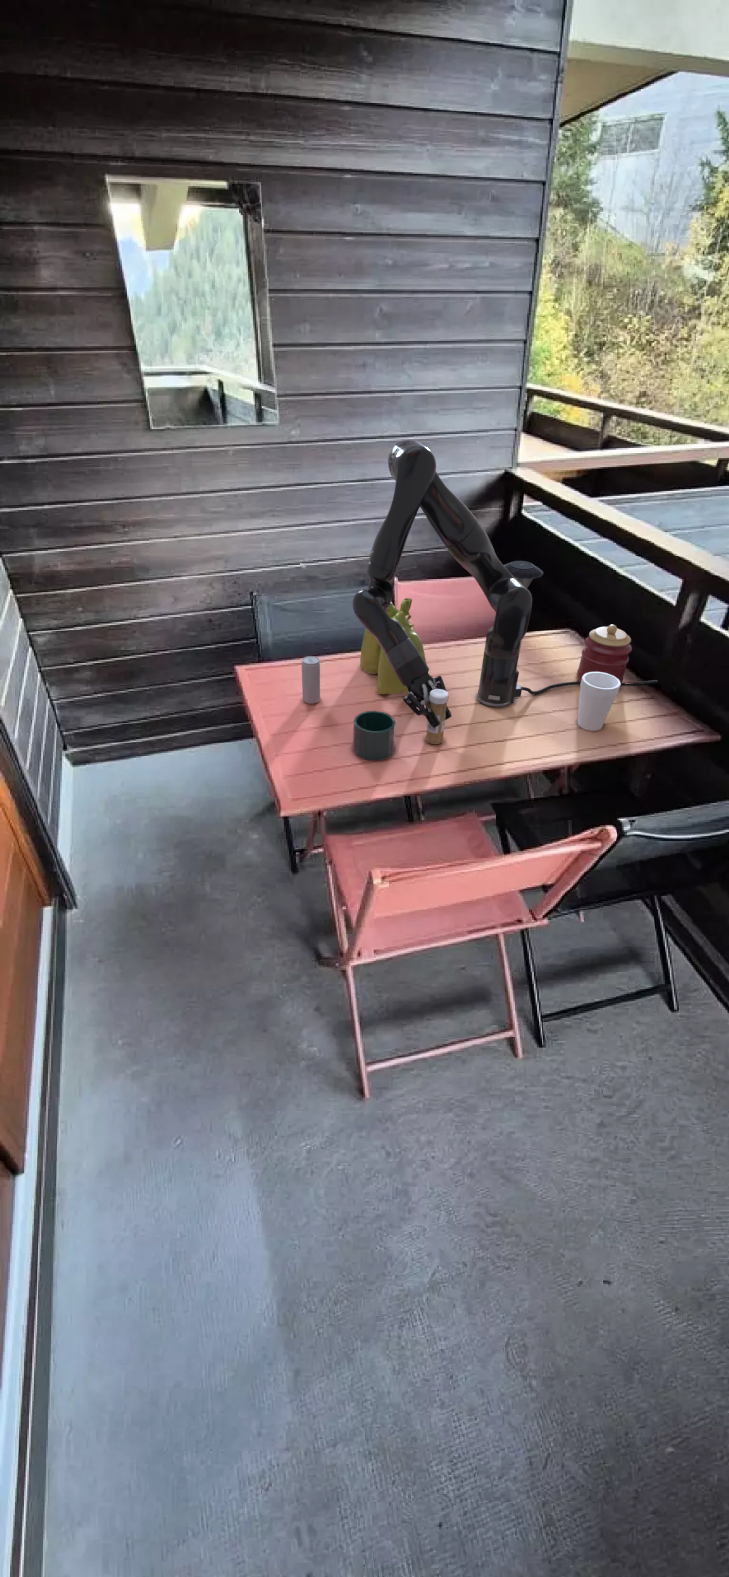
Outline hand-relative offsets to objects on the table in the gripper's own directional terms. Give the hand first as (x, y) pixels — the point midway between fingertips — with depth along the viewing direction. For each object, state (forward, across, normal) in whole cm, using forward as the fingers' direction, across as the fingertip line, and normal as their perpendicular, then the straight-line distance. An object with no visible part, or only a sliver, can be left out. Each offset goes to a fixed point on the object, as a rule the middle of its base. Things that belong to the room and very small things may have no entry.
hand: (442, 722), depth 171 cm
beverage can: (-23, -6, +32) cm, 39 cm away
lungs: (-17, +20, +26) cm, 36 cm away
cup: (-3, -14, +12) cm, 18 cm away
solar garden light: (-3, +50, +12) cm, 52 cm away
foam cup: (+22, +34, -13) cm, 42 cm away
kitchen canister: (+16, +58, -7) cm, 61 cm away
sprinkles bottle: (+3, 0, +6) cm, 7 cm away
